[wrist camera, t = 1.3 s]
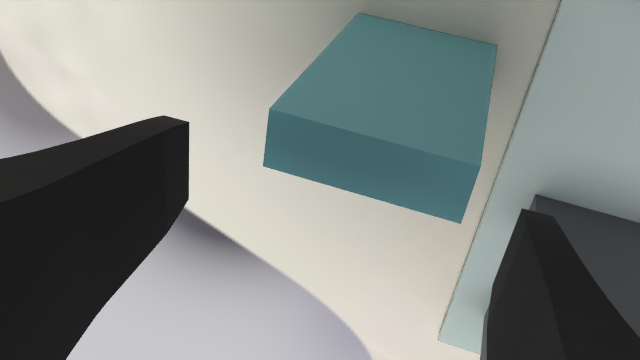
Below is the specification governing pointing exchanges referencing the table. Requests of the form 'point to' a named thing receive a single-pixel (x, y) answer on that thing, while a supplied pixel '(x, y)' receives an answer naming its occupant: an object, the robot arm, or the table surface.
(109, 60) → the table surface
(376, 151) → the teal domino
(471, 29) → the table surface
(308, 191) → the table surface
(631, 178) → the sage board
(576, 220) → the black domino
